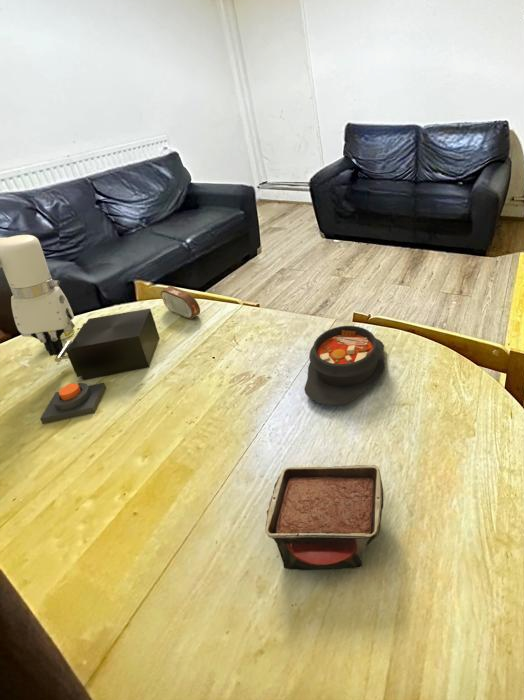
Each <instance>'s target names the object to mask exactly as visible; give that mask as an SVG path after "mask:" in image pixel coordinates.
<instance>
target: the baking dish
mask: <svg viewBox="0 0 524 700" xmlns="http://www.w3.org/2000/svg"><path fill="white" fill-rule="evenodd" d="M381 475H382V474H381V470H380V469H379V467H378V466H377V465H374V464H373V465H367V464H366V465H365V464H364V465H363V464H362V465H361V464H359V465H357V464H356V465H334V466H333V465H332V466H289V467H288V466H287V467H285V468H284V469H283V470H282V471H281V473H280V474H279V476H278V477H277V479H276V482H275V483H274V486H273V491H272V495H271V497H270V501H269V505H268V508H267V510H266V522H265V528H264V529H265V534H266V536H267V537H268V538H271V539H273V541H274V542H275V543H276V546H277V548H278V552H279V554H280V558H281V560H282V561H281V562H282V563H283V569H288V570H293V569H299V570H298V571H330V570H331V571H332V570H333V571H334V570H347V569H348V570H349V569H358V568H362V567H363V562H362V558H363V554H364V552H365V549H366V547H368V546H369V545H370V544H371V543H372V542H373V540H375V539H376V538H377V537H378V535H379V534H380V532H381V526H382V525H381V524H382V515H383V514H382V513H383V509H384V486H383V480H382V476H381Z"/></svg>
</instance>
